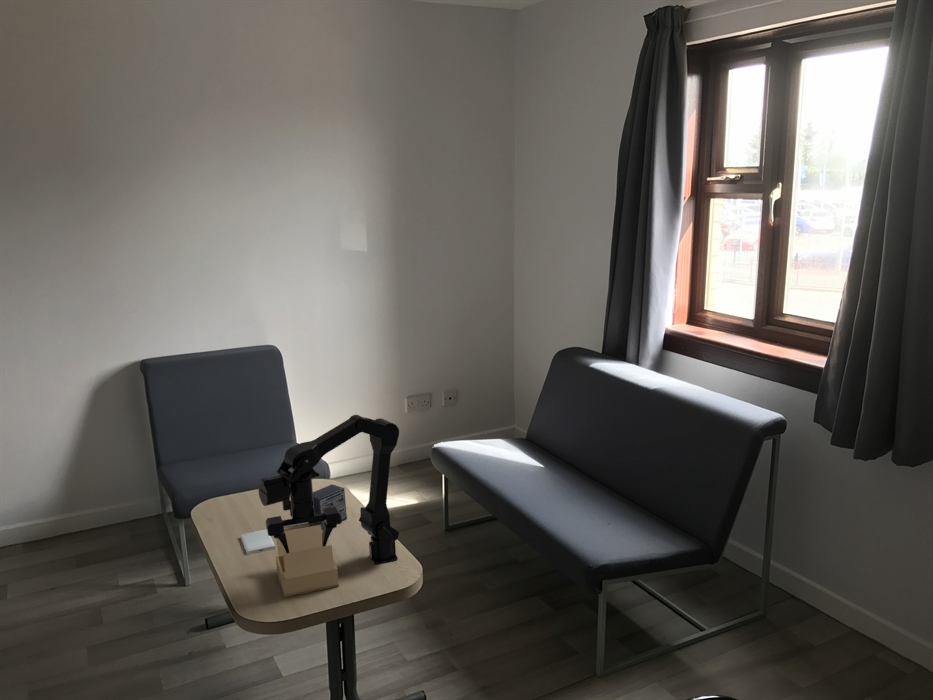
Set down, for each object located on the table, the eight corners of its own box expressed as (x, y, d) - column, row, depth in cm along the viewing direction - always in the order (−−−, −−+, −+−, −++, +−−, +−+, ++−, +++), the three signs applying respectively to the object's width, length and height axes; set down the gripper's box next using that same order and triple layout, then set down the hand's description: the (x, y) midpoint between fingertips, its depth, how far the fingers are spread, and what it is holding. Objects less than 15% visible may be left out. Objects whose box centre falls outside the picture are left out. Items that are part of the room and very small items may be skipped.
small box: (334, 514, 249) (331, 483, 247) (347, 519, 245) (345, 487, 243) (308, 525, 241) (305, 493, 239) (321, 531, 237) (319, 498, 235)
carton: (328, 563, 217) (327, 546, 216) (338, 586, 204) (337, 568, 203) (277, 573, 212) (275, 556, 211) (284, 597, 199) (282, 579, 198)
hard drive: (240, 534, 234) (246, 551, 223) (267, 528, 237) (275, 545, 226) (240, 539, 234) (247, 556, 223) (268, 533, 238) (276, 550, 227)
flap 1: (324, 546, 215) (324, 547, 216) (320, 524, 218) (320, 525, 218) (278, 555, 211) (278, 555, 211) (275, 532, 213) (275, 533, 214)
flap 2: (285, 578, 198) (286, 579, 198) (282, 554, 199) (283, 554, 199) (334, 569, 202) (334, 569, 202) (331, 545, 203) (331, 545, 203)
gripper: (331, 479, 211) (335, 532, 215) (261, 490, 205) (266, 545, 208) (339, 493, 201) (343, 549, 204) (265, 505, 195) (271, 563, 198)
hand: (306, 551), depth 204 cm, fingers open, 9 cm apart
